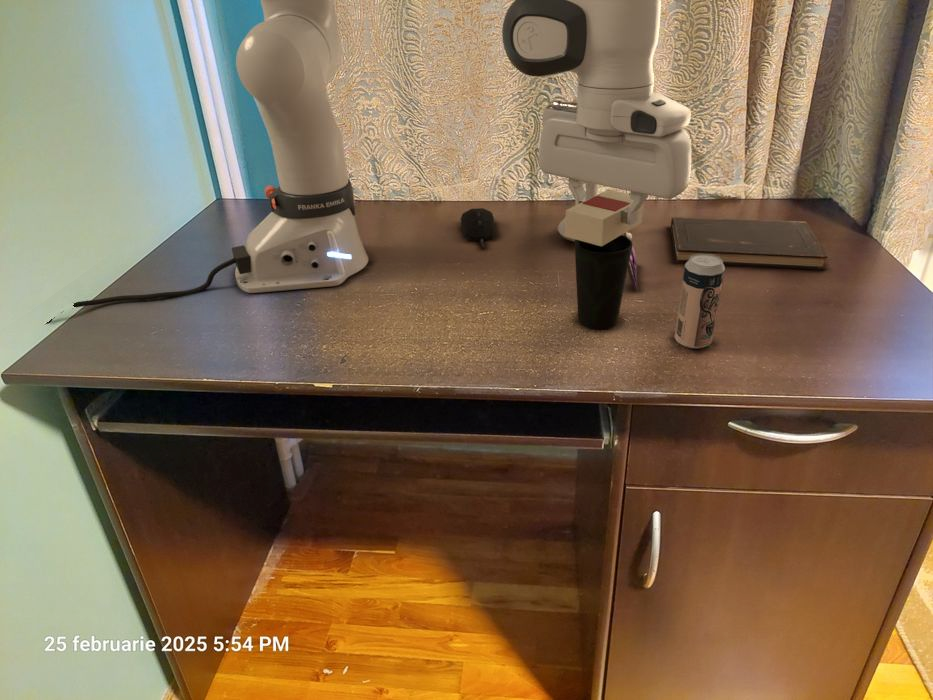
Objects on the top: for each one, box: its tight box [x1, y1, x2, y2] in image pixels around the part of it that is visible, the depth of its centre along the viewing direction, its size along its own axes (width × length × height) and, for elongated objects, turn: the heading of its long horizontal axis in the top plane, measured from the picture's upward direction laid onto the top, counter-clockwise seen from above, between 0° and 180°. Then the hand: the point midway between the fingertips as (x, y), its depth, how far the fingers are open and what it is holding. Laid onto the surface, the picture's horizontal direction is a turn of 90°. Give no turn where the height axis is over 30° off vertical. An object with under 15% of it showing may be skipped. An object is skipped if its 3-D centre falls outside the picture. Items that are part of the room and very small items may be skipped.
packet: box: [565, 189, 645, 246], centre depth 87 cm, size 10×6×4 cm, turn 138°
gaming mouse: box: [460, 207, 496, 250], centre depth 124 cm, size 6×15×4 cm, turn 4°
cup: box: [574, 234, 634, 331], centre depth 92 cm, size 8×8×12 cm
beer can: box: [674, 253, 726, 350], centre depth 86 cm, size 5×5×12 cm
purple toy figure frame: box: [623, 231, 638, 291], centre depth 106 cm, size 7×5×9 cm
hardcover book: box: [670, 216, 828, 270], centre depth 115 cm, size 16×23×2 cm
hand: (605, 217), depth 87 cm, fingers closed on packet, 5 cm apart
